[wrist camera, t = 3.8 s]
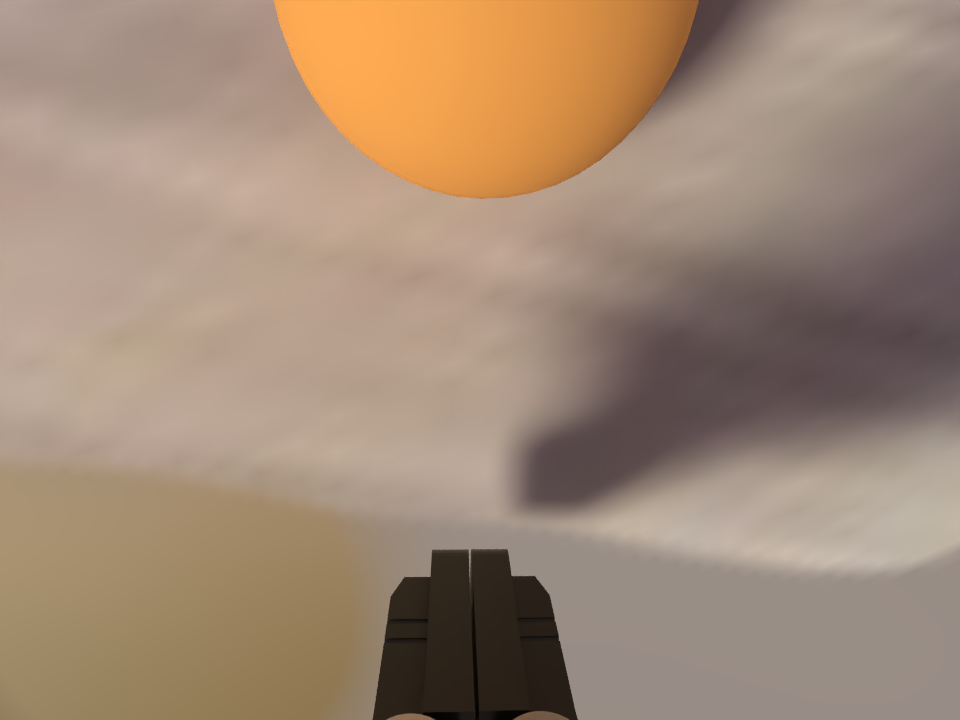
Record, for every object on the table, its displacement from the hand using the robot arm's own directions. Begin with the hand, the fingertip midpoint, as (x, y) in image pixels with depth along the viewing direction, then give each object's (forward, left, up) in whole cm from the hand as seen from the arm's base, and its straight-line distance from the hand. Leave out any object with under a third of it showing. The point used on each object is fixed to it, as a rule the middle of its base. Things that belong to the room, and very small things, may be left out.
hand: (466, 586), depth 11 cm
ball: (-10, 0, 0) cm, 10 cm away
